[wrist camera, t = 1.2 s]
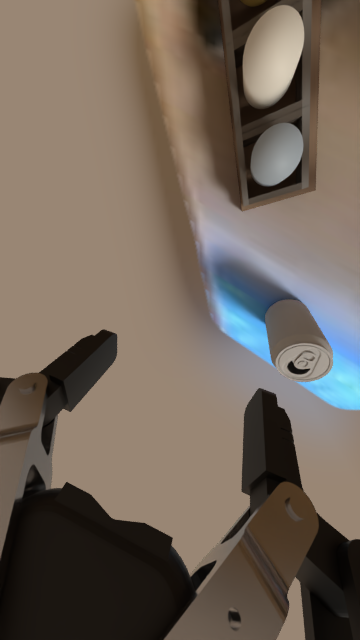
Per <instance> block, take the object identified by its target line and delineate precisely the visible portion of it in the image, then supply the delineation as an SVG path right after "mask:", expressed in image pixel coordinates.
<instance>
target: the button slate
mask: <svg viewBox="0 0 360 640" xmlns="http://www.w3.org/2000/svg"><path fill="white" fill-rule="evenodd" d="M302 153H303V138H302V135H301V133H300V131H299V129H298V128H297V127H295V126H294V125H292V124H289V123H279V124H276V125H273V126H272V127H270V128H268V129H267V130H266V131H265V132H264V133H263V134H262V135H261V136H260V137H259V139H258V140H257V142H256V144H255V146H254V148H253V151H252V156H251V167H250V168H251V175H252V177H253V179H254V181H255V182H256V183H257V184H259V185H261V186H265V187H270V186H274V185H276V184H278V183H280V182H281V181H283V180H284V179H286V178H287V177H288V176H289V175H290V174H291V173H292V172H293V171H294V170H295V168H296V167H297V165H298V164H299V161H300V159H301V156H302Z"/></svg>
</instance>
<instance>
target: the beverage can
mask: <svg viewBox="0 0 360 640" xmlns="http://www.w3.org/2000/svg"><path fill="white" fill-rule="evenodd" d="M265 323H266V330H267V336H268V342H269V348H270V354H271V360H272V363H273V364H274V366H275V367H276V368H277V370H278V371H279V373H280V374H281V375H283V376H284V377H286V378H288V379H290V380H293V381H298V382H309V381H314V380H317V379H320V378H322V377H324V376H325V375H326V374H328V373H329V371H330V370H331V368H332V366H333V359H332V358H333V351H332V348H331V346H330V345H329V343H328V341H327V340H326V338H325V336H324V335H323V333H322V331H321V330H320V328H319V326H318V325H317V323H316V321H315V320H314V318H313V316H312V315H311V313H310V311H309V310H308V308H307V307H306V306H305V305H304V304H303V303H302V302H300V301H297V300H292V299H286V300H281V301H278V302H276V303H274V304H273V305H272V306H270V308H269V309H268V310H267V312H266V314H265Z"/></svg>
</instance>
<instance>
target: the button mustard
mask: <svg viewBox="0 0 360 640" xmlns="http://www.w3.org/2000/svg"><path fill="white" fill-rule="evenodd" d="M240 1H241V2H242V3H244V4H245V5H247V6H251V7H254V6H259V5H261V4H263V3H264V2H266V1H267V0H240Z"/></svg>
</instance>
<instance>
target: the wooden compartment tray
mask: <svg viewBox="0 0 360 640" xmlns="http://www.w3.org/2000/svg"><path fill="white" fill-rule="evenodd" d="M218 4H219V13H220V22H221V31H222V40H223V49H224V58H225V67H226V75H227V84H228V93H229V102H230V111H231V120H232V129H233V138H234V146H235V155H236V164H237V173H238V182H239V191H240V200H241V209H242V211H245V210H249V209H252V208H256V207H259V206H263V205H266V204H269V203H273V202H276V201H280V200H283V199H287V198H290V197H294V196H297V195H301V194H304V193H307V192H311V191H314V190H316V157H317V124H318V91H319V59H320V26H321V0H267V1H266V2H264V3H263V4H261V5H259V6H254V7H251V6H247V5H245V4H244V3H242V2H241V1H240V0H218ZM280 5H287V6H291V7H293V8H294V9H295V10H296V11H297V12H298V13H299V15H300V16H301V19H302V21H303V26H304V44H303V49H302V52H301V56H300V59H299V61H298V64H297V67H296V70H295V73H294V75H293V78H292V81H291V84H290V86H289V88H288V89H287V91H286V93H285V94H284V96H283V97H282V98H281V99H280V100H279V101H278V102H277V103H276V104H274V105H273V106H271V107H269V108H266V109H256V108H254V107H252V106H251V105H250V104H249V103H248V101H247V100H246V98H245V94H244V88H243V54H244V49H245V45H246V42H247V39H248V37H249V35H250V33H251V31H252V29H253V27H254V26H255V24H256V23H257V21H258V20H259V19H260V18H261V17H262V16H263V15H264V14H265V13H266V12H267V11H269V10H270V9H272V8H274V7H276V6H280ZM279 123H289V124H292V125H294V126H295V127H297V128H298V129H299V131H300V133H301V135H302V138H303V153H302V156H301V159H300V161H299V164H298V165H297V167H296V168H295V170H294V171H293V172H292V173H291V174H290V175H289V176H288V177H287V178H286V179H284V180H283V181H281V182H280V183H278V184H276V185H274V186H270V187H265V186H261V185H259V184H257V183H256V182H255V181H254V179H253V177H252V175H251V168H250V167H251V156H252V151H253V148H254V146H255V144H256V142H257V140H258V139H259V137H260V136H261V135H262V134H263V133H264V132H265V131H266V130H267V129H268V128H270V127H272V126H273V125H276V124H279Z"/></svg>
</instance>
